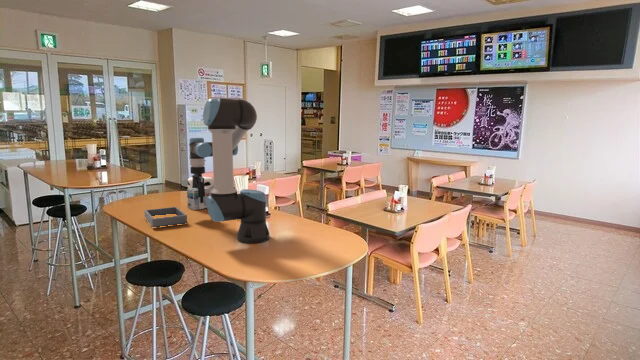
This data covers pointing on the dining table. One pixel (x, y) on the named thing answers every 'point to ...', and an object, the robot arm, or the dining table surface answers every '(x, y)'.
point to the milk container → (207, 183)
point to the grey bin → (165, 221)
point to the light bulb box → (196, 198)
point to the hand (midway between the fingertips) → (199, 207)
